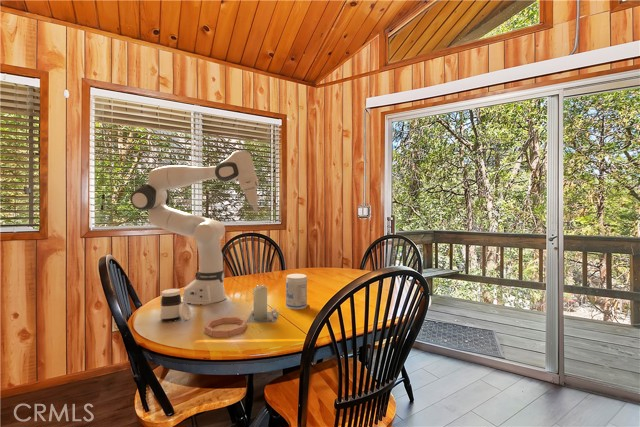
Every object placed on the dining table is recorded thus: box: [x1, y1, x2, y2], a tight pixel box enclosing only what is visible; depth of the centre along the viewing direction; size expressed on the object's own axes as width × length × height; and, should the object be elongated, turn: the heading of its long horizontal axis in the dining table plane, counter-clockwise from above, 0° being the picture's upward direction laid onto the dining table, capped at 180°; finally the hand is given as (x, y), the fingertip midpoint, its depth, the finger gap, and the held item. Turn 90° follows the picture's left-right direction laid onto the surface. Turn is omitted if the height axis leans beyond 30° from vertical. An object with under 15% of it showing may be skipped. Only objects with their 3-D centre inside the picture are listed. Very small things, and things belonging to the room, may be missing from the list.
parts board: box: [246, 308, 280, 324], centre depth 131 cm, size 12×12×3 cm
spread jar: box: [160, 288, 192, 323], centre depth 132 cm, size 12×11×12 cm
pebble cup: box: [252, 284, 268, 320], centre depth 130 cm, size 6×6×14 cm
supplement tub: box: [285, 273, 308, 310], centre depth 146 cm, size 10×10×15 cm
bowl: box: [203, 316, 248, 338], centre depth 119 cm, size 14×14×3 cm
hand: (256, 211), depth 155 cm, fingers open, 8 cm apart
